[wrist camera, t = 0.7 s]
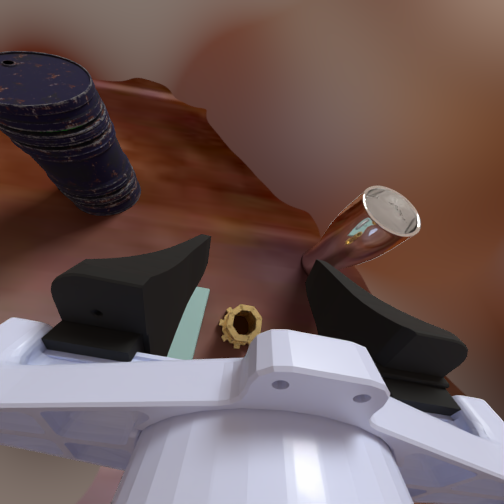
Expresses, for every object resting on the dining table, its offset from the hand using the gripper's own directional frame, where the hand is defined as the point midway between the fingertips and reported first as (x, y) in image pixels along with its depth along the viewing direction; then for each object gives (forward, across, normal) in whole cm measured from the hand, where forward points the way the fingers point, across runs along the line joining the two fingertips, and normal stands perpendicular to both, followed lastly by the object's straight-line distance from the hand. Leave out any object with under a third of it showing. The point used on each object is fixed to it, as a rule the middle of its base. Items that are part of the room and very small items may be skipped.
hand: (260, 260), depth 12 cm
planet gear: (+6, 0, +15) cm, 16 cm away
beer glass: (+17, -12, +9) cm, 23 cm away
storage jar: (+20, +25, +5) cm, 32 cm away
